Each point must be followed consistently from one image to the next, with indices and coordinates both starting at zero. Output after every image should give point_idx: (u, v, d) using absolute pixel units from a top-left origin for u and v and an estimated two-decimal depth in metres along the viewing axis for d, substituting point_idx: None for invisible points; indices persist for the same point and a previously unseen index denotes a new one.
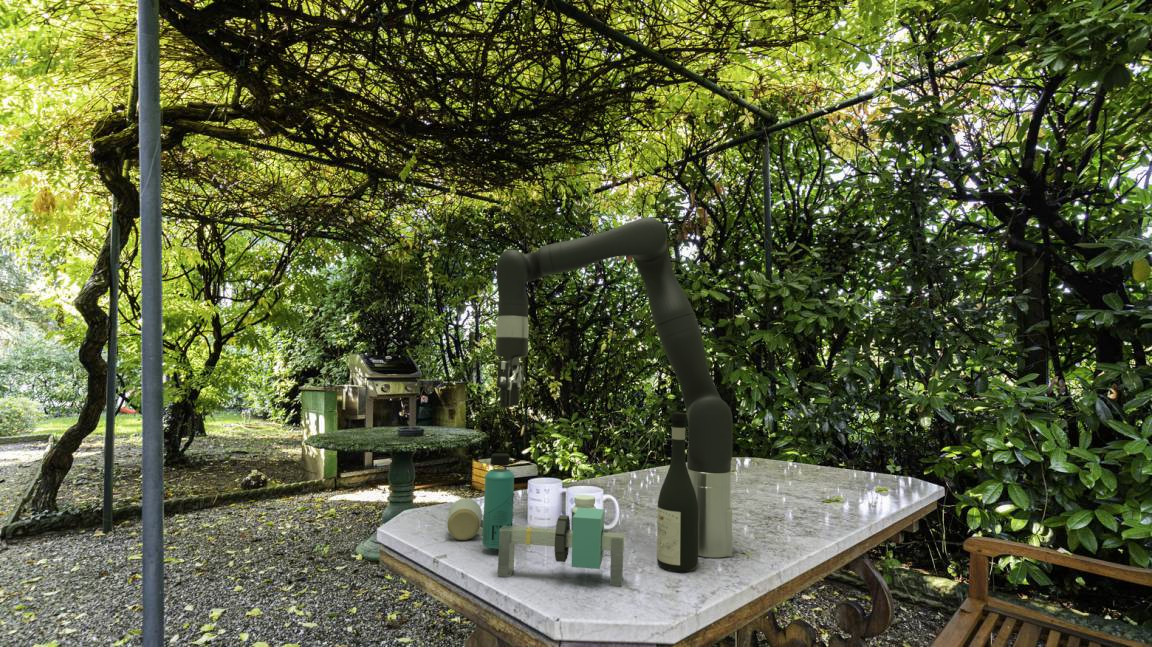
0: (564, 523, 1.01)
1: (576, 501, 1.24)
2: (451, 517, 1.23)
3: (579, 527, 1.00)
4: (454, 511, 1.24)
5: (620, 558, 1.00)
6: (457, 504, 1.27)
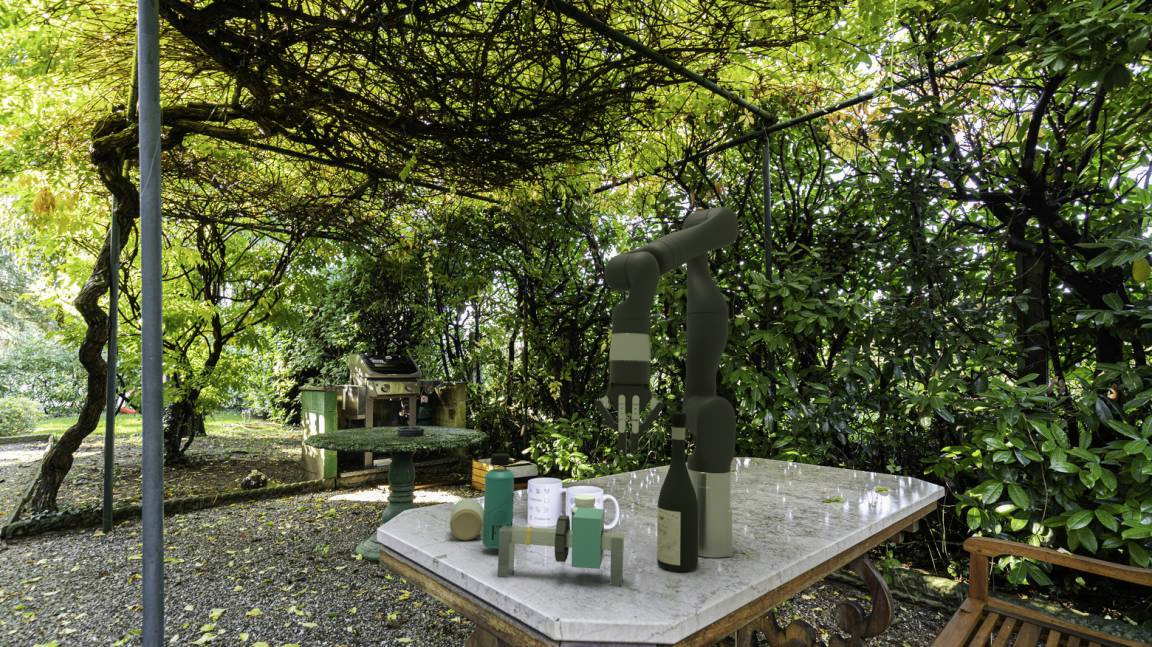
0: (564, 523, 1.01)
1: (576, 501, 1.24)
2: (454, 517, 1.23)
3: (579, 527, 1.00)
4: (457, 511, 1.24)
5: (620, 558, 1.00)
6: (459, 504, 1.27)
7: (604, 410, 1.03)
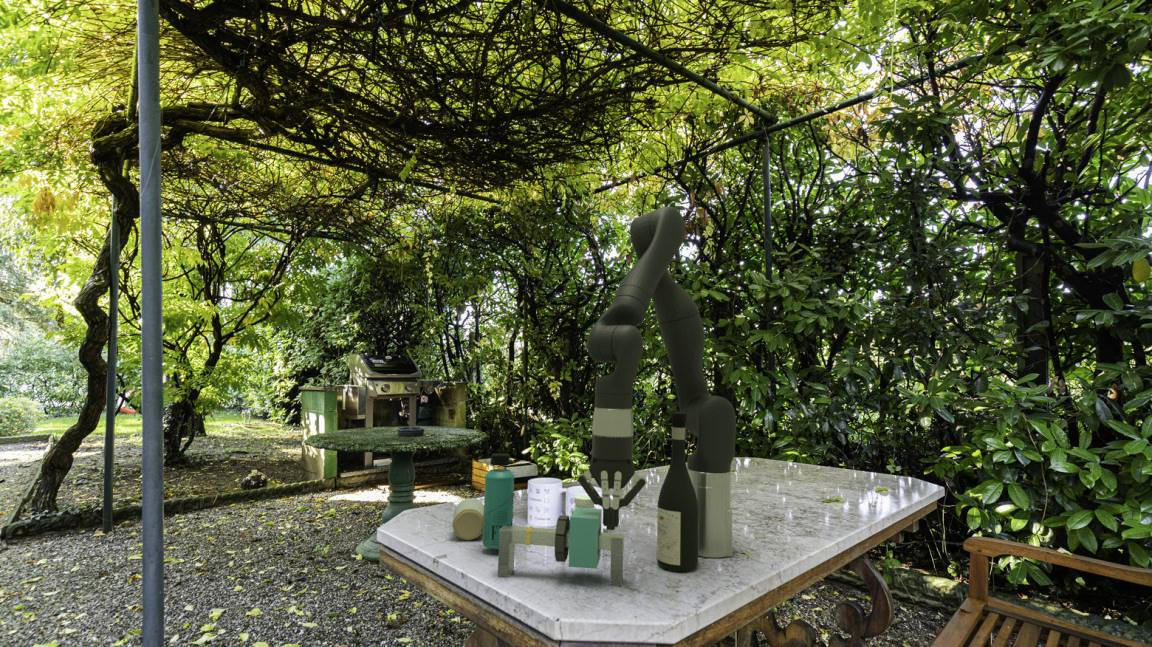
0: (564, 523, 1.01)
1: (576, 501, 1.24)
2: (456, 517, 1.23)
3: (576, 527, 1.00)
4: (459, 511, 1.24)
5: (620, 558, 1.00)
6: (462, 504, 1.27)
7: (587, 486, 1.02)
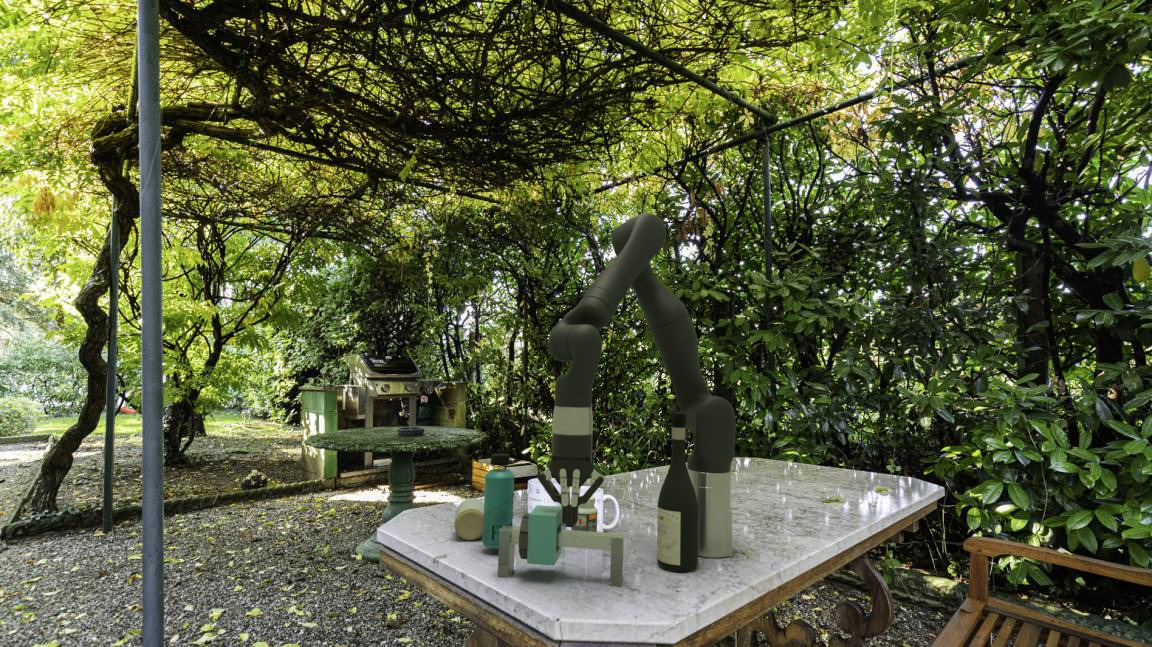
0: None
1: None
2: (458, 517, 1.23)
3: (534, 524, 1.01)
4: (461, 511, 1.24)
5: (620, 558, 1.00)
6: (464, 504, 1.27)
7: (547, 483, 1.03)
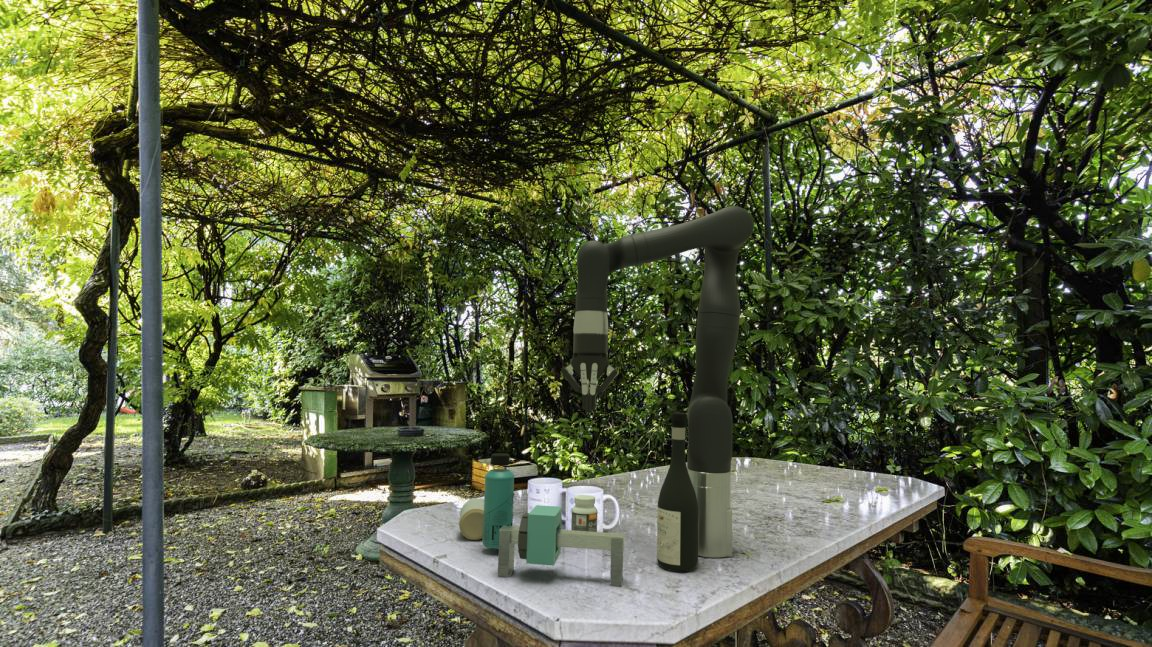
0: None
1: (576, 501, 1.24)
2: (463, 517, 1.23)
3: (533, 524, 1.01)
4: (466, 511, 1.24)
5: (620, 558, 1.00)
6: (468, 504, 1.28)
7: (569, 376, 1.22)
